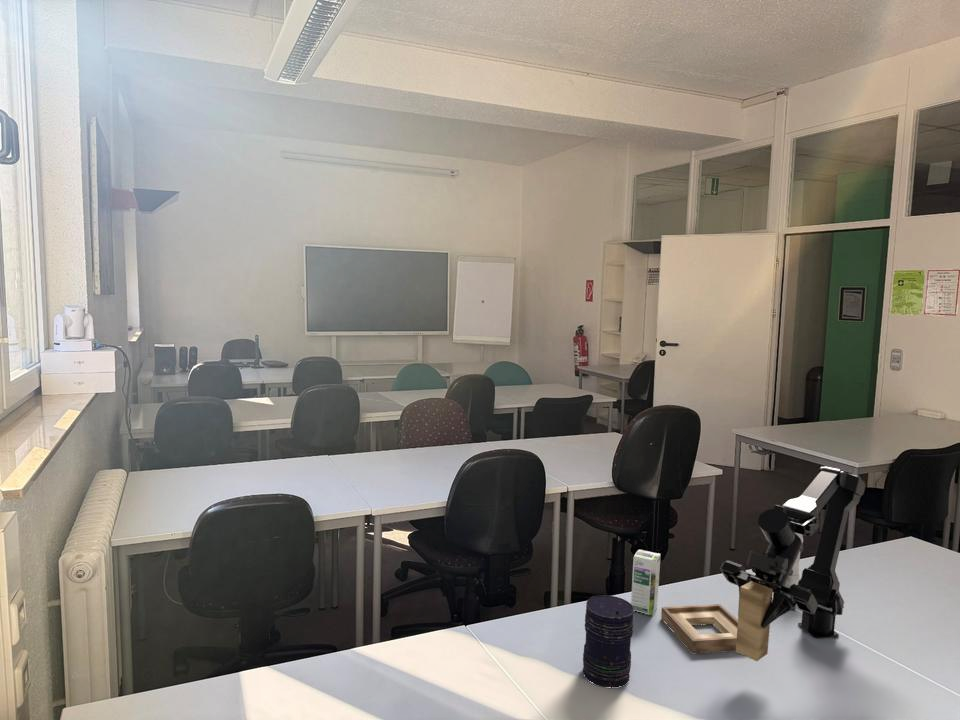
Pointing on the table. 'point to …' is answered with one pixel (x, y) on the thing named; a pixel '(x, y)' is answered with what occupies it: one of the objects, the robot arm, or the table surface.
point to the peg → (753, 620)
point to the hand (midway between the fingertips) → (750, 621)
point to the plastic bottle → (794, 569)
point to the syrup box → (645, 581)
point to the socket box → (715, 614)
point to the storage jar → (608, 640)
